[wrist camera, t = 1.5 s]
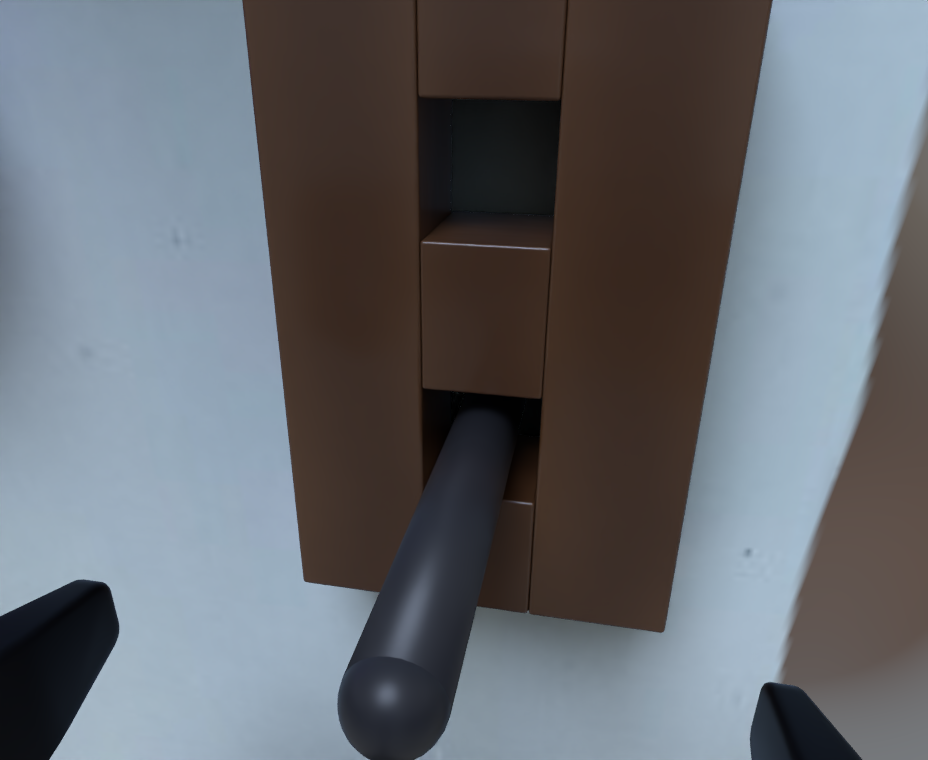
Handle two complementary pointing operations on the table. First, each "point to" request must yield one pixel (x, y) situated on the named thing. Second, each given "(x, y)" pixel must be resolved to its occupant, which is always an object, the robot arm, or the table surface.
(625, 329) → the pen stand
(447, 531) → the stylus
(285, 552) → the table surface
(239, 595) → the table surface
